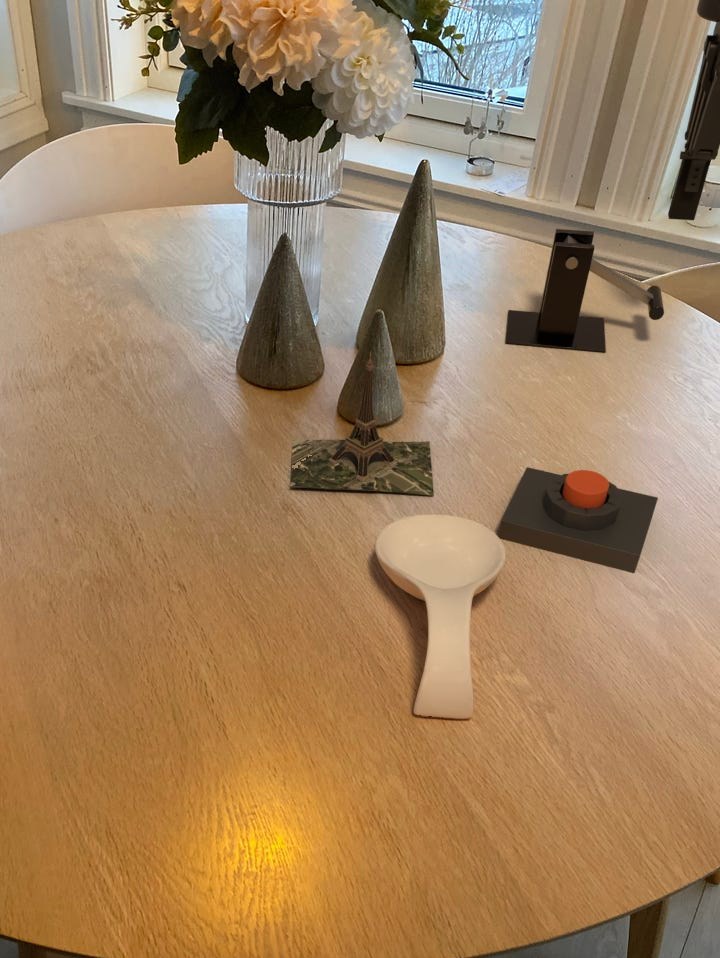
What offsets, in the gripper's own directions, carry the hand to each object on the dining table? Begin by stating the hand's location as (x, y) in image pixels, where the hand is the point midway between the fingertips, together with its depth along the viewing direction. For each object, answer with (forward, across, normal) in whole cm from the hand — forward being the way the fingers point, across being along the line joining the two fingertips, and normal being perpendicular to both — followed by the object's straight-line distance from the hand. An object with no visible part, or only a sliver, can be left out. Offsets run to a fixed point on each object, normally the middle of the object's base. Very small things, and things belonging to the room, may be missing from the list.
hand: (681, 217), depth 113 cm
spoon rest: (+16, +56, -20) cm, 62 cm away
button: (+13, +39, -9) cm, 42 cm away
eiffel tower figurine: (+16, +33, -31) cm, 48 cm away
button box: (+16, +39, -9) cm, 43 cm away
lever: (+9, 0, -6) cm, 11 cm away
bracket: (+16, 0, -11) cm, 19 cm away
